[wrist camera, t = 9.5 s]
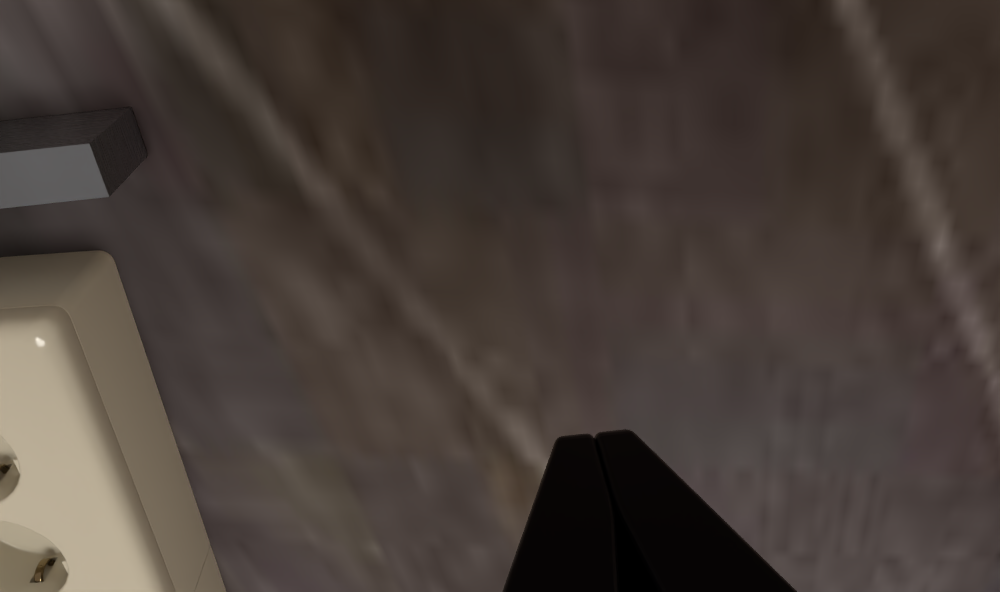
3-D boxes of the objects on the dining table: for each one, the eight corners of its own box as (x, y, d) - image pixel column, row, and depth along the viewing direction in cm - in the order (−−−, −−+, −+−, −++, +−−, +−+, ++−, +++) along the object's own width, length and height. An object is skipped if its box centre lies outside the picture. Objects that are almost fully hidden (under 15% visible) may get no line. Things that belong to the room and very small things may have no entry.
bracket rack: (328, 694, 30) (319, 761, 28) (48, 724, 30) (17, 793, 28) (130, 106, 19) (89, 143, 17) (-323, 156, 19) (-423, 199, 17)
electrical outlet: (15, 798, 26) (-285, 348, 17) (67, 684, 30) (-160, 261, 21) (232, 781, 27) (47, 325, 17) (258, 670, 30) (116, 242, 21)
